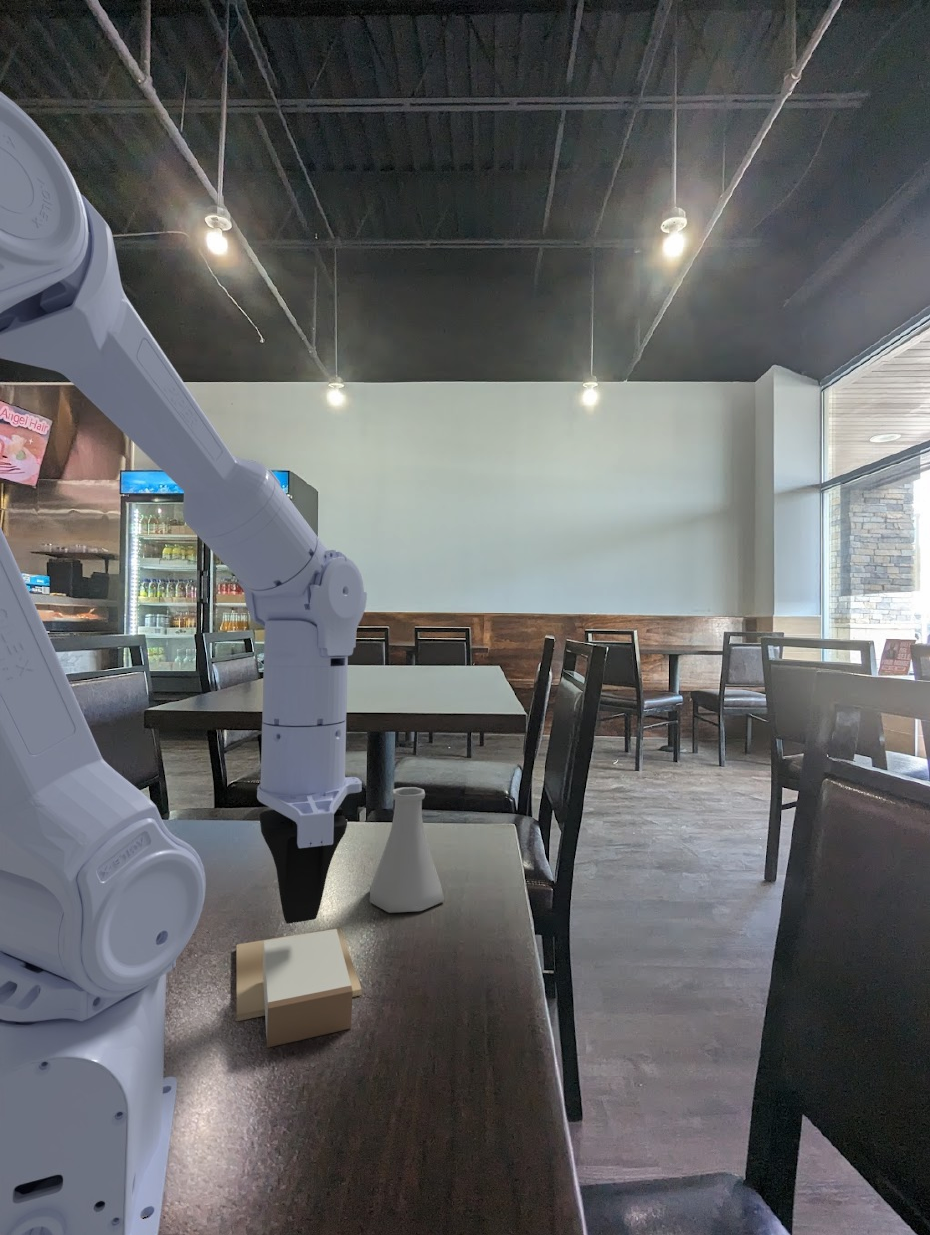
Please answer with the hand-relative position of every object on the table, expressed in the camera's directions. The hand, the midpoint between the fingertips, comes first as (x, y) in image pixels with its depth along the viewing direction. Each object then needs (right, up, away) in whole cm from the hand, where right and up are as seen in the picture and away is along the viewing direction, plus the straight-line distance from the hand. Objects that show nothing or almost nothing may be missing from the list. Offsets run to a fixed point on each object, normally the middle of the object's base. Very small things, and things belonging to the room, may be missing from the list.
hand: (300, 917), depth 41 cm
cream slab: (0, -3, +1) cm, 3 cm away
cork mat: (-1, -5, +2) cm, 6 cm away
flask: (+6, -6, +15) cm, 17 cm away
